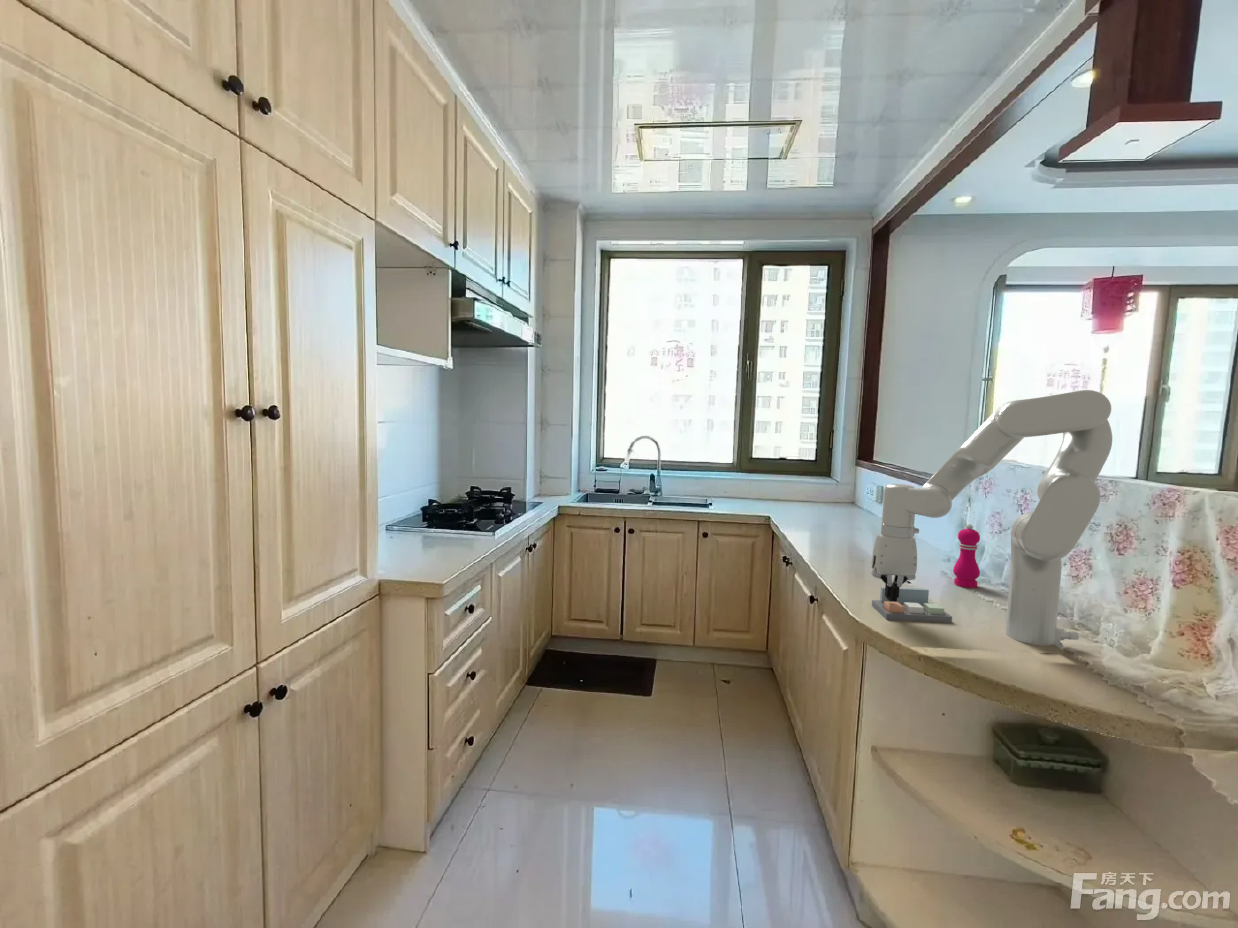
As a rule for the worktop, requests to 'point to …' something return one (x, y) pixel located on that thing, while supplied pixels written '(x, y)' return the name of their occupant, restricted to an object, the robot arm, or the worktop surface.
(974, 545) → the pepper mill
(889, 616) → the keypad
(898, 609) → the terracotta key
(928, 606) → the sage key
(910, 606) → the white key
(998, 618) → the worktop surface
